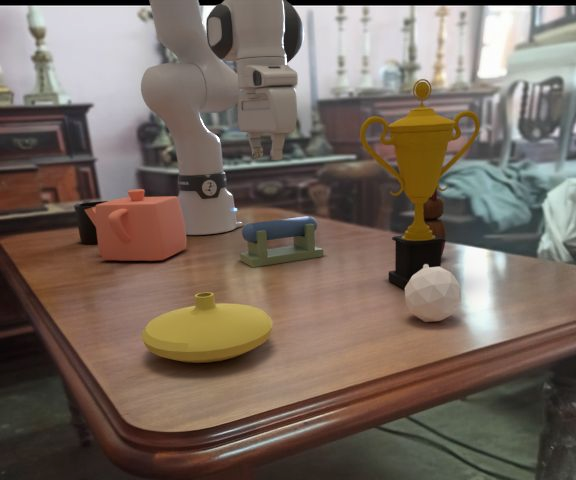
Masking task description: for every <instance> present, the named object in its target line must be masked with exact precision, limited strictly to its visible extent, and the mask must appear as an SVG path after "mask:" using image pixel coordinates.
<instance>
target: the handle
mask: <svg viewBox="0 0 576 480" xmlns="http://www.w3.org/2000/svg"><path fill="white" fill-rule="evenodd" d="M306 224H314V233H316V230H317V227H318V222H317V220H316V219H315V218H314V217H312V216H310V215H305V216H297V217H290V218H283V219H273V220H266V221H258V222H250V223H247V224H246V225H244V226H243V228H242V230H241V236H242V238H243V240H245V242H247V241H248V242H257V235H256V231H260V230H265V231H266V235H267V241H273V240H280V239H287V238H288V239H289V238H293V237H295V236H302V235H305V227H304V225H306Z"/></svg>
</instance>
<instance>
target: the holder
mask: <svg viewBox="0 0 576 480" xmlns="http://www.w3.org/2000/svg"><path fill="white" fill-rule="evenodd" d="M304 227H305V235H302V236H295V237H292V238H293V245H288V246H280V247H273V248H268V240H267V235H266V231H265V230H260V231H256V235H257V242H248V241H246V243H247V252H240V253H239V258H240V261H241V262H242V263H244V264H246V265H248V266H249V267H252V268H258V267H259V268H260V267H263V266H265V267H266V266H271V265H278V264H284V263H290V262H297V261H303V260H310V259H316V258H322V257H324V248H321V247H319V246H316V242H315V241H316V239H315V233H316V232H314V224H306V225H304Z"/></svg>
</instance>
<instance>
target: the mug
mask: <svg viewBox="0 0 576 480" xmlns="http://www.w3.org/2000/svg"><path fill="white" fill-rule="evenodd" d="M108 201H109V200H102V201H101V200H99V201H89V202H82V203H78V204H75V205H74V212H75V218H76V223H77V229H78V235H79V240H80V243H82V244H84V245H98V239H97V231H96V227H95V225H94V224H93V222H92V221H91V219H90V218H89V216H88V215H87V213H86V212H85V209H89V208H92V207H95V206H96V205H98V204H101V203H105V202H108Z"/></svg>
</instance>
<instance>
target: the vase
mask: <svg viewBox="0 0 576 480" xmlns="http://www.w3.org/2000/svg"><path fill="white" fill-rule="evenodd" d="M194 301H195V302H194V303H195V304H194V305H191V306H186V307H182V308H178V309H174V310H171V311H168V312H165V313H163V314H160V315H158V316H156V317H154V318H152V319H151V320H150V321H149V322H148V324H147V325H146V326H145V327H144V329H143V330H142V332H141V341H142V342H143V344H144V346H145V347H146V349H147V350H148V351H149V352H150V353H152V354H154V355H156V356H158V357H161V358H164V359H169V360H173V361H177V362H178V361H179V362H182V363H190V364H191V363H193V364H201V363H214V362H222V361H225V360H230V359H235V358H236V357H239V356H241V355H244V354H246V353H248V352H250V351H252V350H254V349H256V348H257V347H259V346H260V345H263V344H264V343H266V341H267V340H268V339H269V338H270V337H271V333H272V330H273V325H274V321H273V320H272V318H271V316H269V314H268V313H267V312H266V311H264V310H262V309H261V308H259V307H256V306H252V305H248V304H242V303H241V304H240V303H227V302H226V303H224V302H223V303H216V300H215V294H214V292H210V291H205V292H204V291H203V292H198V293H196V294H194Z"/></svg>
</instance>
